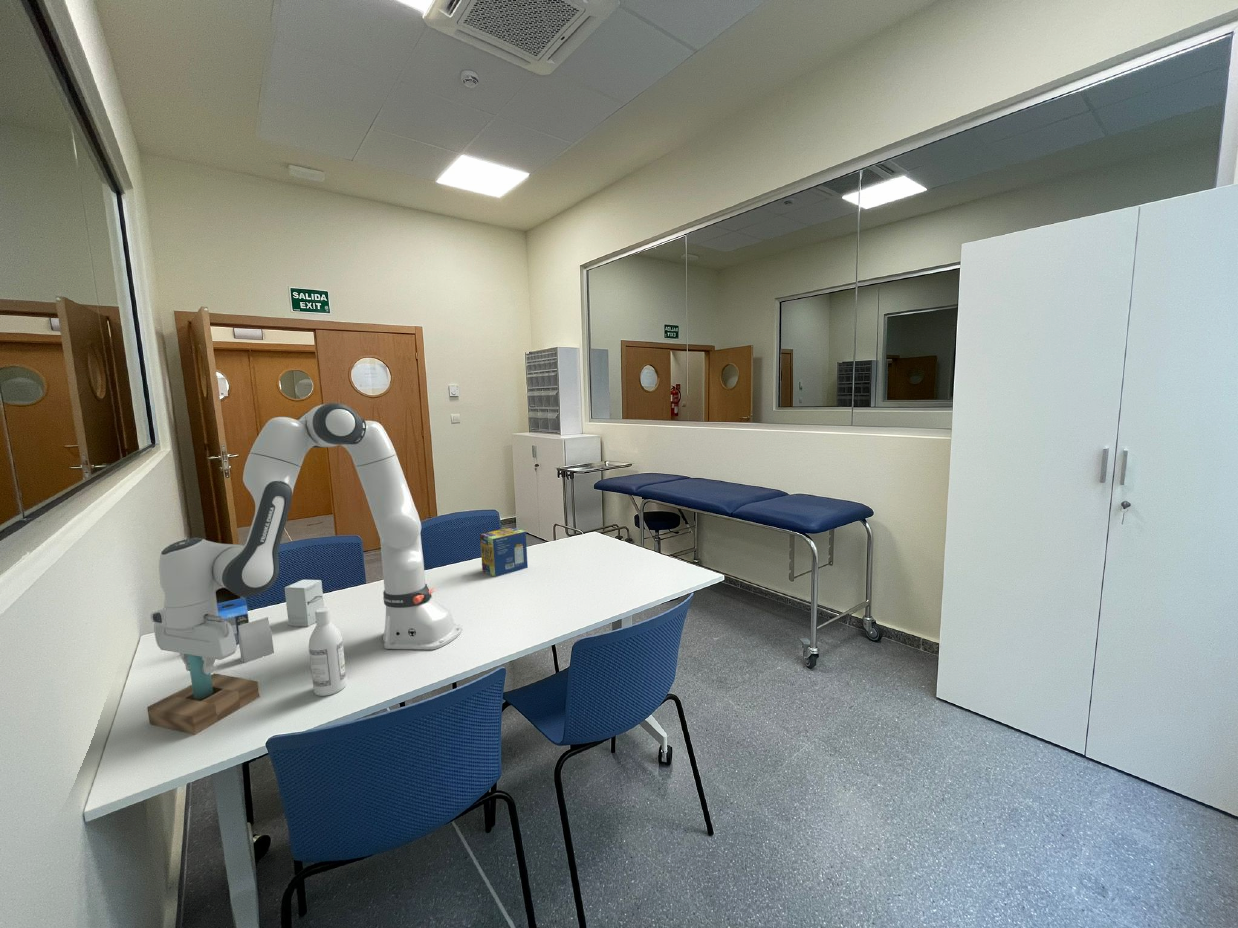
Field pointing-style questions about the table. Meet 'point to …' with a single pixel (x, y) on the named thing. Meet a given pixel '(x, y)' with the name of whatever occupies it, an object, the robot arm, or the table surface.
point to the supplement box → (303, 602)
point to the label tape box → (234, 614)
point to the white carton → (255, 640)
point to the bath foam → (326, 656)
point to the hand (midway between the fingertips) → (200, 671)
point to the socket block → (203, 704)
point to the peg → (199, 678)
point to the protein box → (503, 551)
